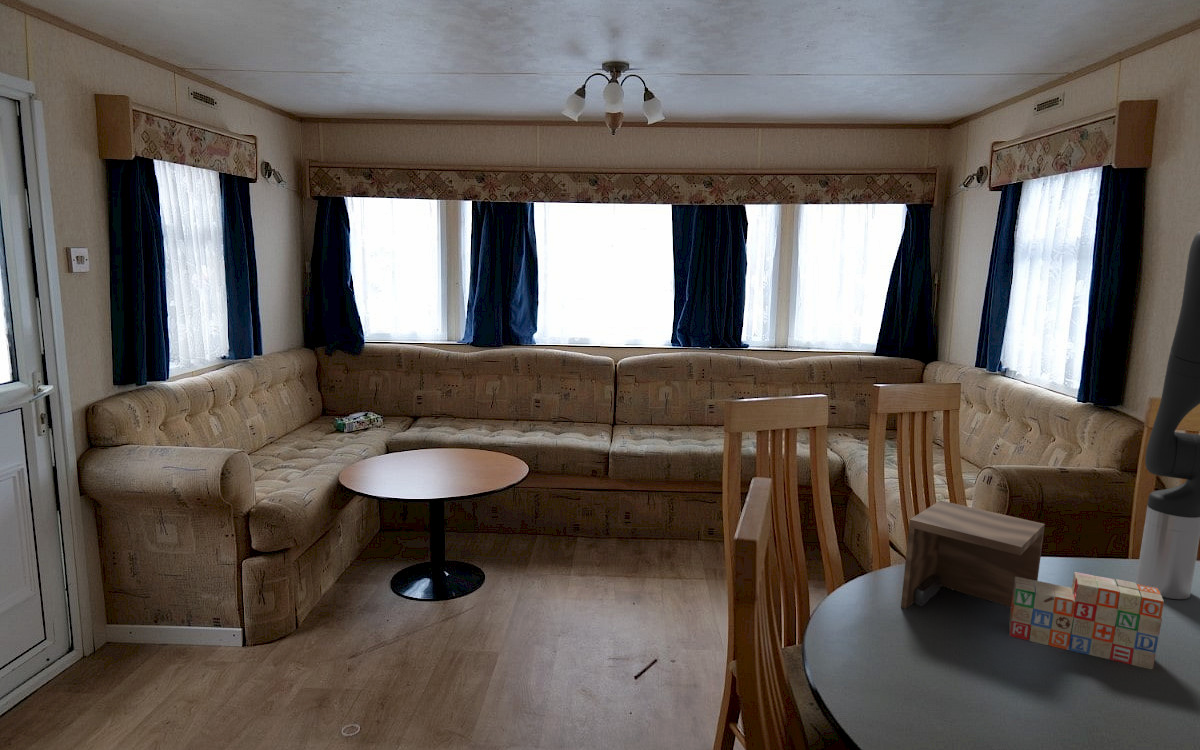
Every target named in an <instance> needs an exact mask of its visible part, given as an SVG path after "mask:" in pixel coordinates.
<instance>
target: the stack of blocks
mask: <svg viewBox="0 0 1200 750" xmlns="http://www.w3.org/2000/svg"><path fill="white" fill-rule="evenodd" d="M1164 603H1165V602H1164V597H1162V596H1161V594H1160V592H1159V590H1158V588H1154V587H1149V586H1144V585H1139V584H1136V582H1135V581H1128V580H1123V579H1117V578H1116V579H1114V578H1111V577H1105V576H1104V577H1103V576H1098V575H1092V574H1088V573H1083V572H1077V571H1074V572H1073V578H1072V583H1071V587H1070V586H1064V585H1059V584H1054V583H1050V582H1045V581H1040V580H1038V581H1036V580H1030V579H1025V578H1020V577H1015V581H1014V588H1013V594H1012V602H1011V607H1010V613H1009V619H1008V620H1009V622H1008V625H1009V627H1008V628H1009V629H1008V632H1009V637H1012V638H1017V639H1021V640H1025V641H1029V642H1032V643H1037V644H1040V645H1046V646H1051V647H1054V648H1058V649H1062V650H1067V651H1072V652H1076V653H1079V654H1080V653H1081V654H1085V655H1090V656H1093V657H1097V658H1098V657H1099V658H1103V659H1107V660H1110V661H1113V662H1118V663H1123V664H1127V665H1131V666H1136V667H1139V668H1140V667H1141V668H1143V669H1149V670H1154V665H1155V661H1156V660H1155V659H1156V652H1157V647H1158V643H1159V642H1158V641H1159V638H1160V637H1159V636H1160V633H1161V628H1162V621H1163V618H1162V614H1163V609H1164Z"/></svg>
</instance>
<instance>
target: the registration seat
mask: <svg viewBox="0 0 1200 750" xmlns="http://www.w3.org/2000/svg"><path fill="white" fill-rule="evenodd" d="M940 582H941V576H937V575H934V574H933V575H932V576H931V577H930V578H928V579H927V580H926V581H925V582H924V583H922V584H921V585H920V586H919V587H917V588H916V590H915V600H914V603H915V604H914V603H913V604H914V605H917V606H920V605H921V606H920V607H923V606H925V604H926V603H927V602H928V601H930V600H931V599H932V598H933V597H934V596H935V595H936V594H937V592H938V591H939V590H940V588H941V586H940ZM939 592H940V591H939ZM939 592H938V593H939ZM931 597H932V598H931ZM930 598H931V599H930ZM929 599H930V600H929Z"/></svg>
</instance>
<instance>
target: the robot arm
mask: <svg viewBox="0 0 1200 750" xmlns="http://www.w3.org/2000/svg"><path fill="white" fill-rule="evenodd" d="M1186 266H1187V267H1186V274H1185V280H1184V288H1183V295H1182V299H1181V300H1182V301H1181V308H1180V312H1179V317H1178V321H1177V324H1176V327H1175V332H1174V336H1173V340H1172V344H1171V347H1170V350H1169V351H1170V352H1169V356H1168V360H1167V365H1166V371H1165V377H1164V383H1163V388H1162V394H1161V399H1160V403H1159V406H1158V409H1157V413H1156V415H1155V420H1154V422H1153V426H1152V429H1151V432H1150V435H1149V438H1148V443H1147V447H1146V451H1145V457H1144V459H1145V460H1144V463H1145V467H1146V470H1147V472H1149V473H1150V474H1151V475H1154V476H1155V475H1156V476H1160V477H1168V478H1172V479H1173V478H1175V479H1180V480H1185V482H1183V483H1181V484H1179V485H1177V486H1174V487H1171V488H1170V487H1169V488H1165V489H1158V490H1154V491H1151V492H1150V494H1149V495H1148V499H1147V506H1146V512H1145V520H1144V526H1143V533H1142V540H1141V545H1140V553H1139V558H1138V559H1139V560H1138V565H1137V572H1136V579H1135V583H1136V584H1139V585H1144V586H1149V587H1154V588H1158V590H1159V592H1160V594H1161V596H1162V598H1167V599H1173V600H1186V599H1189V598H1190V596H1191V591H1192V586H1193V581H1194V575H1195V569H1196V561H1197V558H1198V557H1197V555H1198V549H1199V545H1200V434H1195V433H1188V432H1187V433H1186V432H1178V431H1176V430H1177V429H1178V426H1179V425H1180V423H1181V422H1182V421H1183V419H1185V417H1186V416H1187V415H1188V414H1189V413H1190V412H1192V410H1194V409H1195V408H1196V407H1197V406H1199V405H1200V230H1199V231H1197V232H1196V234H1195V235H1194V237H1193V239H1192V241H1191V245H1190V248H1189V252H1188V260H1187V265H1186Z"/></svg>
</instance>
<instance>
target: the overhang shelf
mask: <svg viewBox="0 0 1200 750" xmlns="http://www.w3.org/2000/svg"><path fill="white" fill-rule="evenodd" d="M908 524H909V525H908V535H907V543H906V544H907V545H906V553H905V561H904V562H905V564H904V573H903V583H902V591H901V592H902V593H901V601H900V602H901V603H900V608H902V607H903V608H902V609H905V610H906V608H907V609H908V608H909V607H910V606H912V603H913V602H914V600H915V590H916V588H917V587H919V586H920V585H921V584H922V583H924V582H925V581H926V580H927V579H928V578H930V577H931V576H932V575H933V574H934V575H937V576H941V582H940V587H942V586H944V587H943V588H945V587H947V588H946V589H949V588H950V590H952V589H953V590H952V591H955V590H956V591H955V592H959V593H963V594H966V595H969V596H973V597H975V598H976V597H977V598H978V599H979V598H980V599H983V600H987V601H989V602H993V603H996V604H1000V605H1003V606H1005V607H1006V606H1007V607H1010V608H1011V602H1012V594H1013V588H1014V581H1015V577H1020V578H1025V579H1030V580H1036V581H1039V573H1040V572H1039V571H1040V565H1041V558H1042V557H1041V556H1042V550H1043V549H1042V548H1043V547H1042V546H1043V541H1044V534H1045V533H1044V532H1045V527H1046V526H1045V525H1046V524H1045V523H1042V522H1038V521H1033V520H1029V519H1024V518H1019V517H1016V516H1011V515H1006V514H1002V513H999V512H993V511H990V510H985V509H982V508H981V509H980V508H975V507H971V506H967V505H962V504H958V503H953V502H949V501H945V500H938V501H937V502H935V503H934V504H933V505H930V506H929V507H927V508H926V509H923V510H922V511H921V512H920V513H917V514H916V515H914V516H913V517H911V518H910V519H909V523H908ZM913 604H914V603H913Z"/></svg>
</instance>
